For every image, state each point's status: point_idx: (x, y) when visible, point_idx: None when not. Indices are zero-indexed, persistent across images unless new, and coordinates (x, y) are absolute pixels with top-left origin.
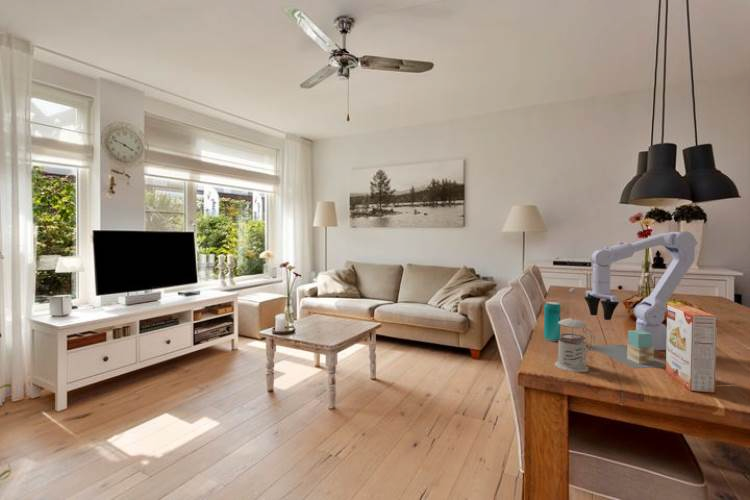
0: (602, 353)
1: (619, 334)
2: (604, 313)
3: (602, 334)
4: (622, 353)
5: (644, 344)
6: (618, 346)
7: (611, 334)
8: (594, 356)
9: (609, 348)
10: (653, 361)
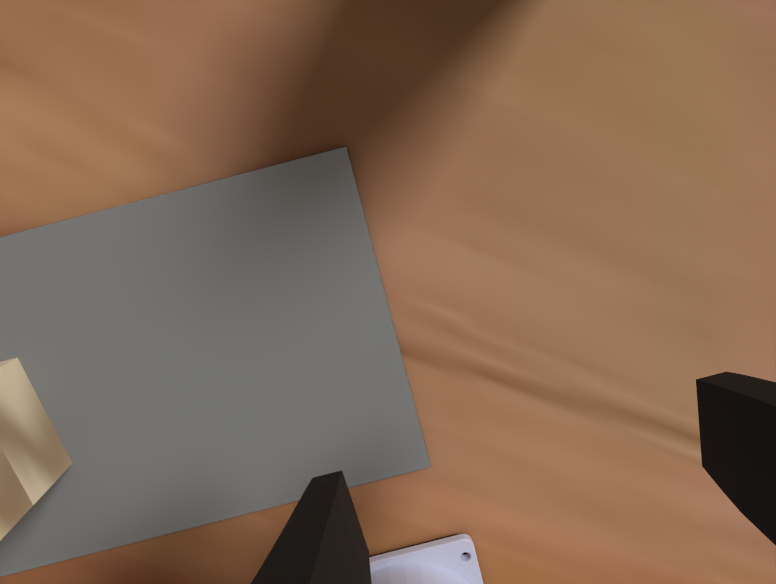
0: (111, 208)
1: (748, 567)
2: (292, 557)
3: None
4: (161, 378)
5: None
6: (373, 427)
7: None
8: (15, 100)
9: (293, 332)
10: None
